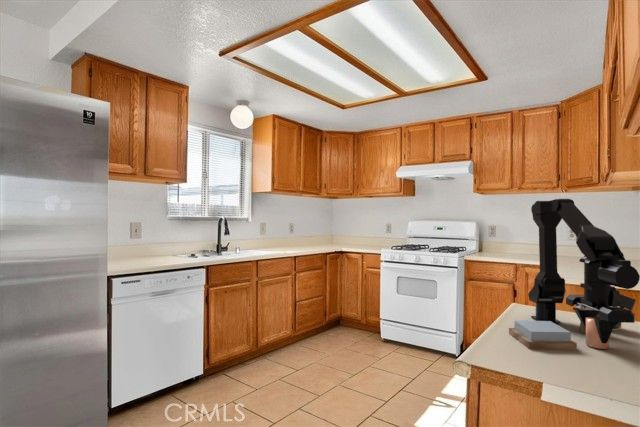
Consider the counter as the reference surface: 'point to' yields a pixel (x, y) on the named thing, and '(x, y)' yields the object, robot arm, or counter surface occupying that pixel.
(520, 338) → the walnut slab
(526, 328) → the slate slab
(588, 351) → the counter surface
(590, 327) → the terracotta cylinder
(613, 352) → the counter surface
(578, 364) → the counter surface
